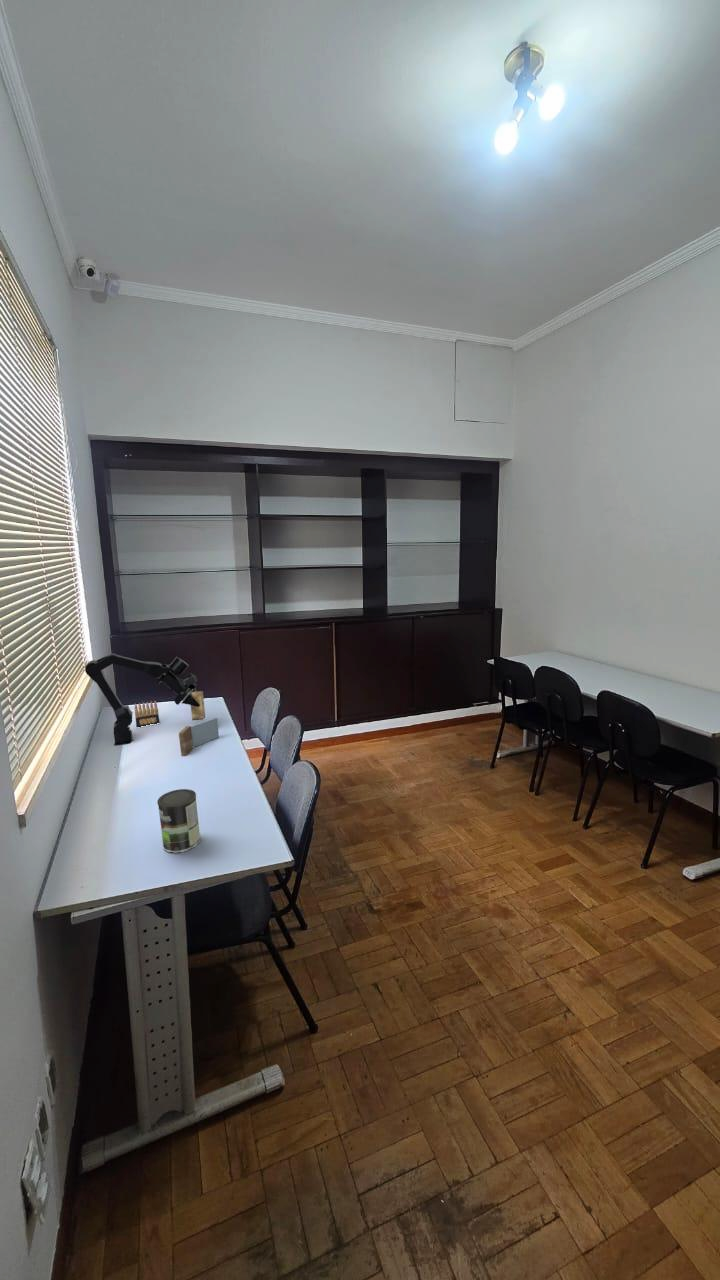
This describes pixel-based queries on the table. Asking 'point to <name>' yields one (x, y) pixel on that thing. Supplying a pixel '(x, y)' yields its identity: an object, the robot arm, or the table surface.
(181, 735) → the partition wall
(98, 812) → the table surface
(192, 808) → the coffee can
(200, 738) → the door
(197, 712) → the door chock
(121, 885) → the table surface
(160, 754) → the table surface
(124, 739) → the robot arm
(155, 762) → the table surface
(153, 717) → the ammunition clip
